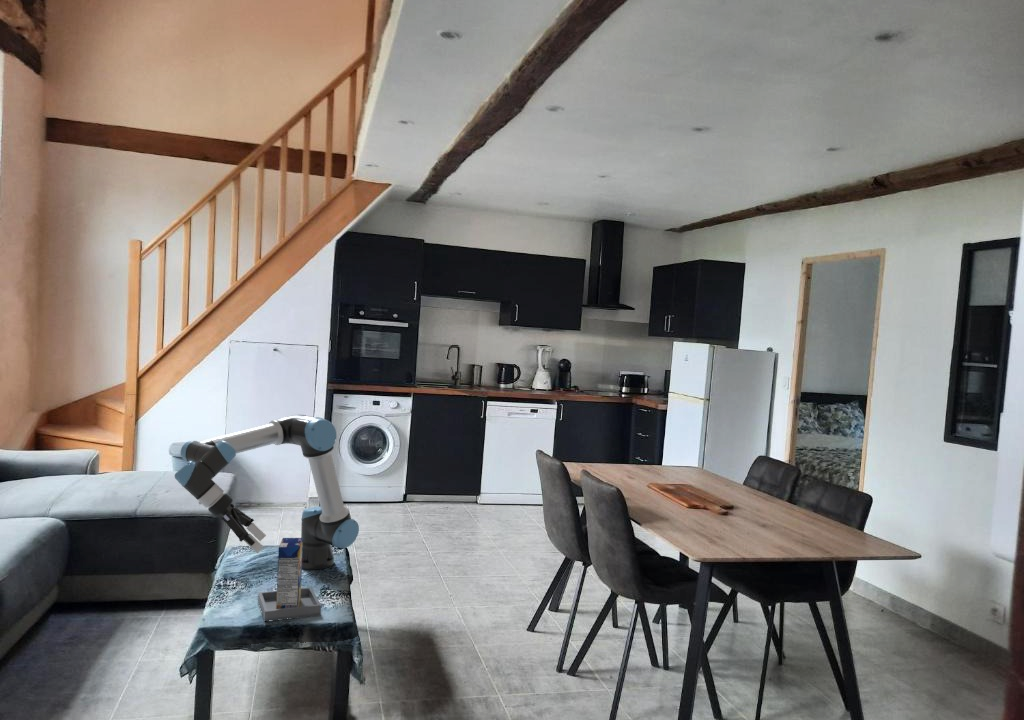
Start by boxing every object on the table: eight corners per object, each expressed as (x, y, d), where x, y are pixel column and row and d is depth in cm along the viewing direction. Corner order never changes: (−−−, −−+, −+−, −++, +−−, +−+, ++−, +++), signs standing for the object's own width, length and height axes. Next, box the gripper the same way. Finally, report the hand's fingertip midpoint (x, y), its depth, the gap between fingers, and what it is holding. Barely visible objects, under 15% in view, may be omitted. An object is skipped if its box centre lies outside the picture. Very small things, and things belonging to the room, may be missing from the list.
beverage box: (276, 612, 243) (278, 547, 242) (280, 600, 254) (282, 537, 253) (297, 611, 245) (300, 547, 244) (300, 599, 255) (303, 537, 255)
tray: (310, 596, 261) (311, 587, 261) (320, 615, 245) (321, 605, 245) (258, 602, 254) (258, 592, 253) (264, 622, 237) (265, 611, 237)
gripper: (211, 499, 253) (255, 541, 257) (201, 518, 229) (250, 564, 233) (228, 484, 254) (272, 526, 258) (220, 501, 230) (268, 547, 235)
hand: (262, 544), depth 246 cm, fingers open, 13 cm apart
